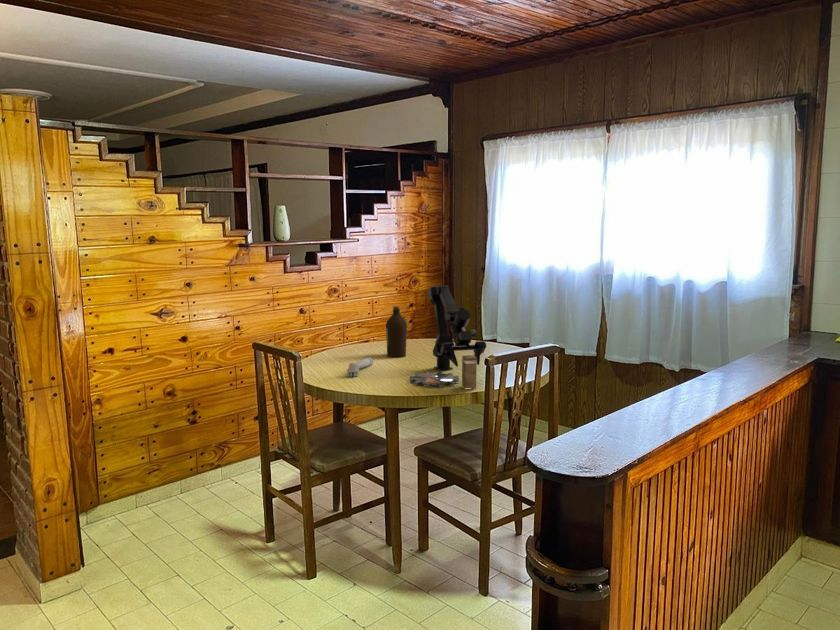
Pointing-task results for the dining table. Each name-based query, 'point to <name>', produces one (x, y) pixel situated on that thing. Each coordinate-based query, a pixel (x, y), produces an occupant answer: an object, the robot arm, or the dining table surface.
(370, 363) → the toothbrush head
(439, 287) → the robot arm
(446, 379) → the sprocket plate
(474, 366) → the link block
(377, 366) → the dining table surface
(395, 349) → the olive oil
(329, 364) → the dining table surface
